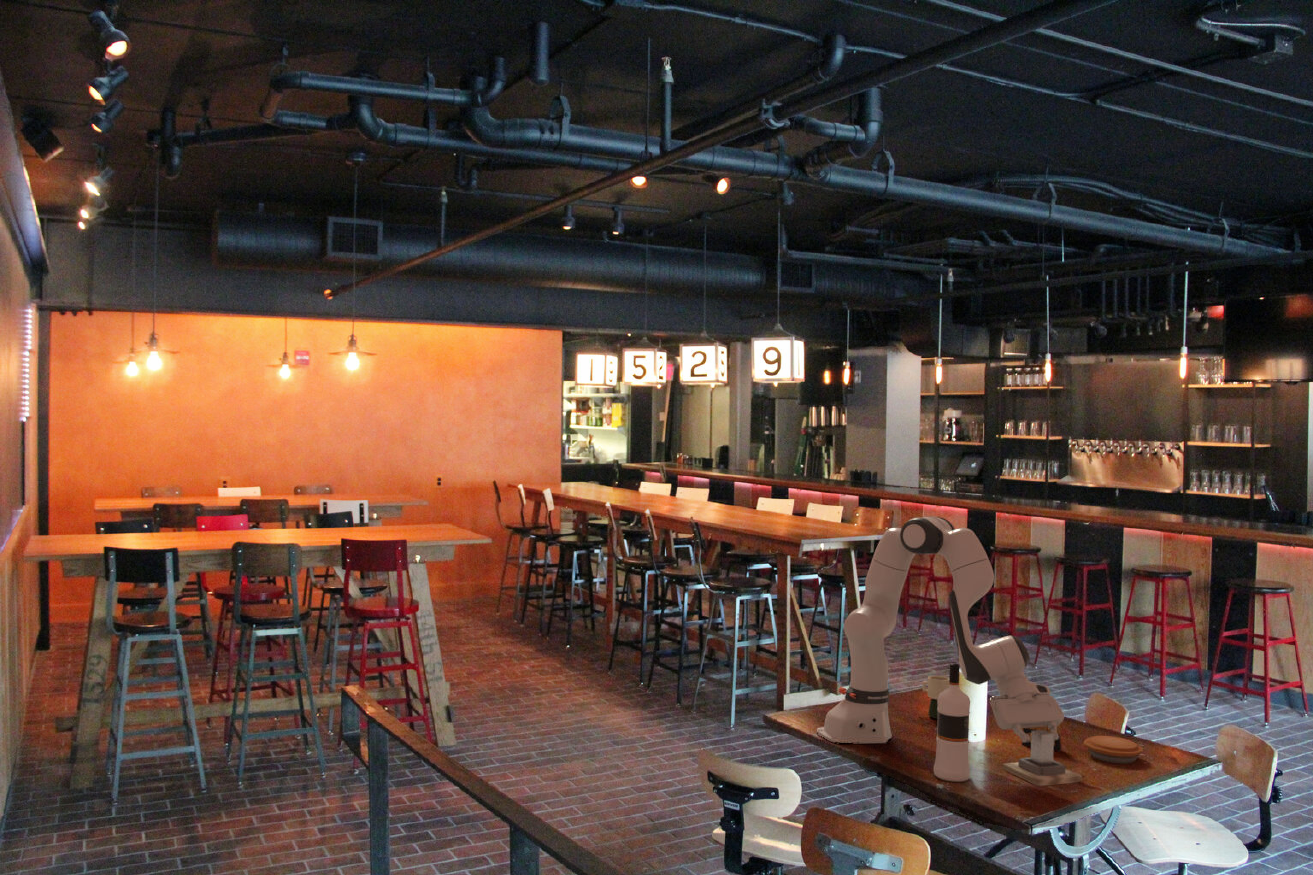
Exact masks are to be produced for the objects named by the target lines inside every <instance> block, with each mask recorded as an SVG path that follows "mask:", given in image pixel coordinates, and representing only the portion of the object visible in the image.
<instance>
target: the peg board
mask: <svg viewBox="0 0 1313 875" xmlns="http://www.w3.org/2000/svg"><path fill="white" fill-rule="evenodd" d="M1030 759H1031V756H1029V757H1021V758H1019V759H1018V761H1017V762H1008V763H1002V770H1004V771H1006V772H1008V773H1009V774H1011V775H1015V777H1019V779H1020V778H1021V779H1022V780H1025V781H1026V782H1028V783H1031V784H1034V786H1037V787H1046V786H1054V785H1061V784H1062V785H1063V784H1072V783H1073V784H1074V783H1082V779H1083V776H1082V775H1080V774H1078V773H1076V772H1074V771H1071V770H1069V769H1066V764H1063V763H1060V761H1059V762H1058V761H1056V760H1055V759H1053V766H1046V767H1039V766H1037V765H1035V764H1033V763H1030Z"/></svg>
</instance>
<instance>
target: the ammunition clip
mask: <svg viewBox="0 0 1313 875" xmlns="http://www.w3.org/2000/svg"><path fill="white" fill-rule="evenodd" d="M1061 726H1062V722H1061V723H1060V724H1059V725H1057V733H1058V735H1059V738H1058V739H1057V740H1054V748H1053V752H1061V751H1062V734H1061V733H1062V732H1061V731H1062V727H1061ZM1035 730H1045V731H1048V732H1050V733H1051V729H1048V727H1047V726H1042V727H1029V728H1022V731H1023V732H1024V733H1025V734H1028V735H1029V737H1030V739H1031V731H1035ZM1021 745H1022V746H1024V747H1025V746H1026V747H1030V748H1031V740H1030V741H1029V742H1026V743H1023V742H1022V741H1021Z"/></svg>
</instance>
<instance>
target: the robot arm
mask: <svg viewBox="0 0 1313 875" xmlns="http://www.w3.org/2000/svg"><path fill="white" fill-rule="evenodd" d="M935 554H939V555H941V556H942V557H943V558H944V559H945V561H946V563H947V565H948V568H949V570H950V573H951V576H952V580H953V581H952V582H953V585H952V590H951V591H950V592H949V593H948V606H949V612H950V617H951V623H952V627H953V632H954V633H953V634H954V638H955V643H956V646H957V648H956V649H957V653H958V660H959V661H958V664H959V665H960V667H959V669H960V671H961V674H962V676H963V677H964V679H965V680H967V681H968V682H970V683H972V684H976V685H979V686H980V685H982V684H984V683H986V682H989V681H991V680H993V682H994V683H995V684H996V688H997V691H998V694H999V695H993V696H991V697H990V699H989V706H990V707H991V709H992V712H993V716H994V719H995V722H996V724H997V726H998V727H999V728H1000V729H1001V730H1012V731H1013V733H1014V734H1015V735H1016V736H1018V737H1019V738H1020V739H1021V743H1022V742H1023V743H1026V742H1029V741H1030V740H1031V739H1030V737H1029V735H1028V734H1025V733H1024V732H1023V728H1029V727H1035V728H1036V727H1042V726H1047V727H1048V729H1051V733H1053V734H1054V740H1057V739H1058V738H1059V735H1058V733H1057V725H1059V724H1060V723H1061V724H1062V723H1063V721H1064V719H1065V715H1064V712H1063V711H1062V708H1061V706H1060V704H1059V703H1058V701H1057V699H1055V698H1054V696H1052V695H1051V692H1052V691H1051V690H1050V688H1049V687H1048V686H1045V685H1042V684H1038V683H1035V682H1034V681H1030V680H1029V678H1028V677H1027V676H1026V675H1025V673H1024V670H1026V668H1027V666H1028V664H1029V662H1030V659H1031V657H1030V654H1029V652H1028V649H1027V647H1026V646H1025V644H1024V642H1023V641H1022V639H1020V638H1019V637H1017V636H1015V635H1012V634H1011V635H1006V636H1003V637H999V638H994V639H991V640H989V641H987V642H984V643H982V644H981V643H980V644H978V645H975V644H974V643H973V640H972V635H971V629H970V624H969V620H968V618H969V617H968V614H969V611H970V609H972V607H973V605H974V604H976V603H977V602H978V601H980V599H982V598H983V597H984V596H985V595H986V594H988V592H989V591H990V590H991V588H992V586H993V584H994V582H995V573H994V569H993V567H992V564H991V562H990V558H989V557H988V553H987V552H986V550H985V548H984V546H983V545H982V542H980V539H979V537H977V535H976V534H975V532H974V531H973V530H972V529H970V528H966V527H960V528H959V527H958V528H955V527H954V525H953V524H952V523H951V521H949V520H947V519H946V518H943V517H939V516H930V515H929V516H928V515H927V516H922V517H913V518H911V519H909V520H908V521H906V522H905V523H904V524H903V525H902V527H891V528H888V529H887V530H885V532H884V533H883V535H882V536H881V538H880V540H879V542H878V543H877V546H876V548H875V551H874V554H873V556H872V559H871V562H870V566H869V569H868V571H867V574H866V577H865V580H864V585H865V586H864V588H865V589H864V598H863V601H862V603H861V606H860V607H858V608H856V609H854V610H853V611H851V612H850V613H849V615H848V616H847V617H846V619H845V620H844V624H843V632H844V634H845V636H846V638H847V643H848V648H849V654H850V656H849V657H850V684H849V686H848V687H847V688H845V687H844V686H840V687H839V688H838V690H837V691H838V693H839V694H841V695H842V696H843V695H844V699H842V700H841V701H840V702H839V703H838V704H837V705H835V706H833V707H832V709H830V710H829V711H828V712H827V713H826V715H825V720H824V725H823V726H822V727H817V728H816V734H817V733H818V734H817V735H818V736H820V737H821V736H822V737H821V738H823V737H824V738H825V740H826V739H827V741H828V742H832V743H835V742H842V743H844V742H845V743H847V742H848V743H852V742H854V743H853V744H887V743H888V740H889V739H892V737H893V735H892V731H891V730H892V729H891V727H890V720H889V709H888V708H889V707H888V706H889V703H890V702H889V701H890V689H889V687H888V685H889V684H888V682H889V661H888V659H887V657H886V650H885V645H884V644H885V642H884V640H885V638H887V637H888V636H890V635H891V634H892V633H893V631H894V629H895V627H896V625H897V616H898V611H899V607H900V606H899V605H900V599H901V595H902V592H903V589H904V586H905V582H906V579H907V576H908V573H909V570H910V567H911V563H912V561H913V559H914V557H915V556H916V555H922V556H923V555H925V556H926V555H935ZM824 738H823V739H824ZM857 742H859V743H857ZM886 742H887V743H886Z"/></svg>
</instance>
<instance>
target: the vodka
mask: <svg viewBox="0 0 1313 875" xmlns="http://www.w3.org/2000/svg"><path fill="white" fill-rule="evenodd" d="M960 671H961V669H960V664H959V663H955V662H951V663H949V671H948V672H949V676H948V678H949V688H948V689H946V690H945V691H943V692H941V693H940V694H939V696H938V698H937V703H938V708H937V710H938V719H937V729H936V740H935V741H936V751H935V760H934V765H933V774H934V775H935V777H936V778H938V779H939V780H942V781H946V782H951V783H961V782H962V783H963V782H965V781H968V780H969V779H970V778H971V777H970V776H971V769H970V762H969V761H970V760H969V747H970V746H969V745H970V744H969V743H970V740H969V739H970V738H969V733H970V731H969V730H970V714H971V711H970V708H971V700H970V697H969V696H968V695H967V694H966V693H965V692H964V691H963V690H961V689H960Z"/></svg>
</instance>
